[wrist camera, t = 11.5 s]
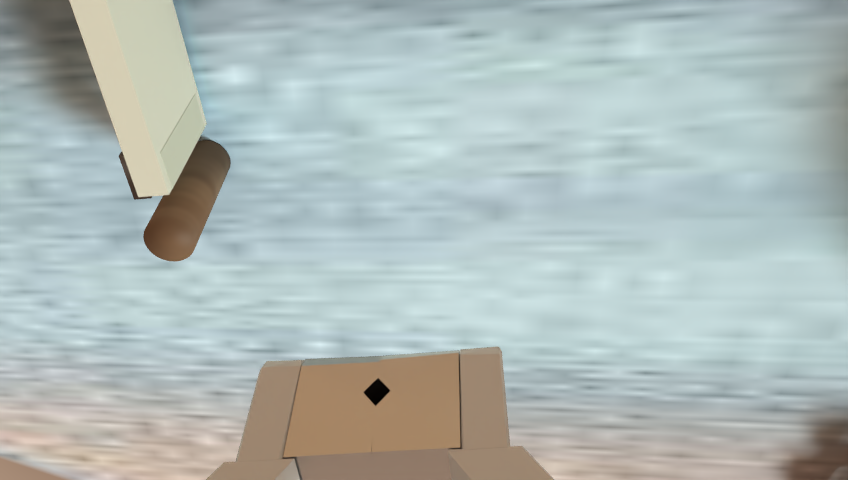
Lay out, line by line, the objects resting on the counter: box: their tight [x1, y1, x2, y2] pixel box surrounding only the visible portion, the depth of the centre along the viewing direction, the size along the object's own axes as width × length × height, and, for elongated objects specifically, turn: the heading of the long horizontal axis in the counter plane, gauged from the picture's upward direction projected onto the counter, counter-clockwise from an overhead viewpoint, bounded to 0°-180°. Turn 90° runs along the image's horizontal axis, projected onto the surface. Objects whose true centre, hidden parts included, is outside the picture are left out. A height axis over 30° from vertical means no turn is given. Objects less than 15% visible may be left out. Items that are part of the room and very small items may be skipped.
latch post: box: [119, 140, 230, 261], centre depth 34 cm, size 4×3×6 cm, turn 6°
